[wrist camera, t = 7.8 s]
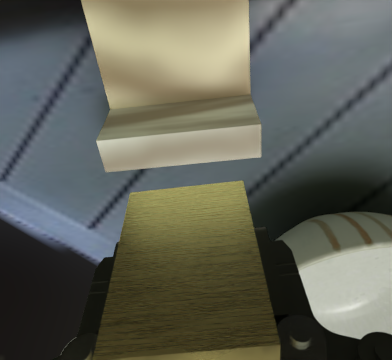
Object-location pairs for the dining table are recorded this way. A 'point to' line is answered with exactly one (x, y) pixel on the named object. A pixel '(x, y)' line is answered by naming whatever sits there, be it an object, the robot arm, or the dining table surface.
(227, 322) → the brass block
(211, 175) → the dining table surface
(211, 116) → the vise
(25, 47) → the dining table surface
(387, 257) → the decorative bowl
